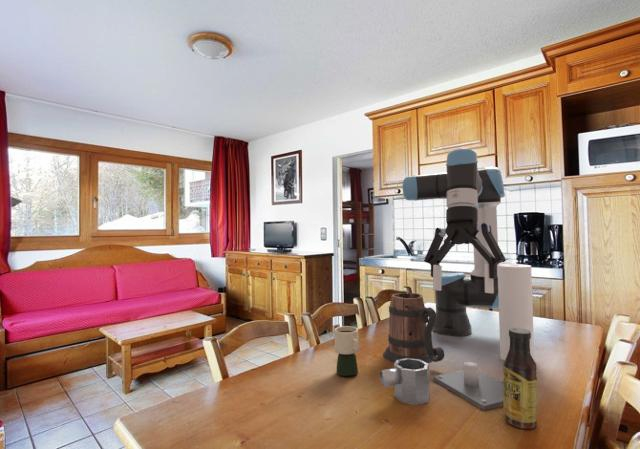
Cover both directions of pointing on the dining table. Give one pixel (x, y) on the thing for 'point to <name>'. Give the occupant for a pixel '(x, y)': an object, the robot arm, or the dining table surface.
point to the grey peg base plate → (473, 386)
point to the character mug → (346, 349)
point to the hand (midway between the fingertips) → (461, 291)
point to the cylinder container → (514, 303)
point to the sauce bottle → (520, 381)
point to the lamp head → (408, 380)
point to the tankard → (411, 330)
